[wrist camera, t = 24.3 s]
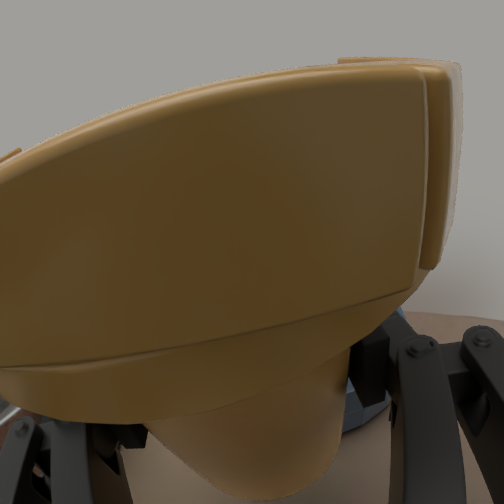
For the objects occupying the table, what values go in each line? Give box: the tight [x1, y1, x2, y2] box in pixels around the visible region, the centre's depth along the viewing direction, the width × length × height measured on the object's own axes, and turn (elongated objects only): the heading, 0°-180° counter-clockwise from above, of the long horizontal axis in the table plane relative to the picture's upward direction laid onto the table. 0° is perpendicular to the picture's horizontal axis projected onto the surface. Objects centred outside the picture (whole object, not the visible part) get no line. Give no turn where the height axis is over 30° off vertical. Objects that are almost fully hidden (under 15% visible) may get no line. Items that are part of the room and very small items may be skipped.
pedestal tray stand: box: [0, 57, 463, 500], centre depth 9 cm, size 11×11×14 cm
